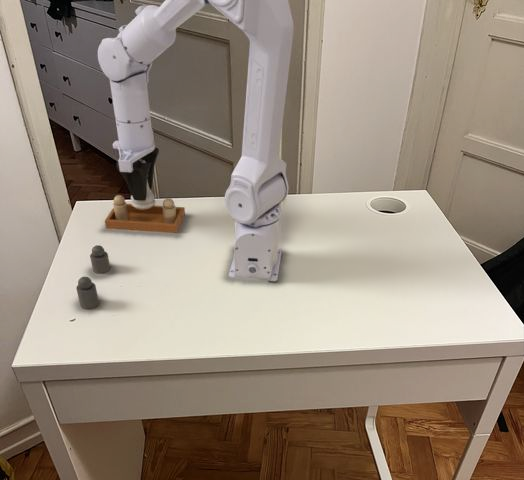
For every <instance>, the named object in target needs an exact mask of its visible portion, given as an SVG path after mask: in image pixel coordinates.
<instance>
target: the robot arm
mask: <svg viewBox="0 0 524 480" xmlns="http://www.w3.org/2000/svg"><path fill="white" fill-rule="evenodd" d="M207 5H211V6H212V7H213V8H214V9H216V10H217V11H218V12H219V13H220V14H222V15H223V16H224V17H225V18H226V19H228V21H230V22H231V23H233V24H234V25H235V26H236V27H237V28H239V29H240V30H241V31H242V32H243V33H244V35H245V36H246V38H248V40H249V50H248V51H249V52H248V65H247V76H246V78H247V79H246V91H245V105H244V106H245V107H244V116H243V117H244V119H243V133H242V144H241V145H242V146H241V157H240V159H239V160H238V162H237V164H236V166H235V167H234V168H233V171H232V173H231V175H230V184H229V186H228V188H227V189H226V190H225V193H224V205H225V209H226V210H227V212H228V214H229V215H230V216H231V218H232V220H233V222H234V246H233V253H234V255H233V258H232V262H231V266H230V269H229V272H228V277H229V278H237V279H252V280H264V281H268V282H277V281H278V278H279V272H280V266H281V260H282V252H283V251H282V250H281V249H280V248H279V241H280V240H279V239H280V238H279V237H280V215H281V213H280V211H281V209H282V207H281V206H282V203H283V202H284V201H285V200H286V198H287V197H288V195H289V191H290V188H289V186H290V185H289V182H288V181H289V180H288V178H287V163H286V162H285V161H284V160H283V159H282V158H280V157H279V155H280V148H281V147H280V146H281V138H282V131H283V124H284V123H283V122H284V114H285V107H286V106H285V105H286V97H287V88H288V83H289V82H288V81H289V72H290V64H291V56H292V47H293V41H294V32H295V31H294V29H295V28H294V19H293V16H292V11H291V10H292V9H291V7H290V2H289V0H164V1H163V2H162V3H161V4H160V6H158V5H155V4H149V5H146V4H145V5H140V6H138V7H137V8H136V9H135V12H134V13H135V14H136V16H135V17H133V19H132V20H131V21H130V22H129V23H128V24H124V25H121V26H120V27H119V28H118V32H119V33H118V34H117V36H115V37H107V38H103V39H102V40H101V42H100V44H99V46H98V48H97V62H98V64H99V66H100V69H101V71H102V72H103V74H104V75H105V77H107V78H108V79H109V85H110V92H111V100H112V104H113V111H114V112H113V113H114V118H115V119H114V120H115V123H116V125H115V126H116V131H117V139H118V140H114V142H113V143H112V148H113V149H114V150H118V154H119V158H118V160H117V161H116V163H115V165H116V169H117V171H118V172H119V173H120V175H121V176H122V177H123V179H124V181H125V183H126V184H127V187H128V189H129V191H130V194H131V195H132V196H133V199H134V200H141V201H145V200H146V196H147V180H148V185H149V188H150V190H151V191H152V188H153V184H154V182H153V181H154V172H155V166H156V161H157V158H158V156H159V153H160V149H159V148H158V147H156V144H155V137H154V129H152V127H153V126H152V117H151V111H150V110H151V109H150V101H149V100H150V99H149V91H148V90H149V89H148V84H149V82H150V77H149V74H150V70H151V68H152V66H153V62H154V60H155V59H157V58H158V57H159V56H160V55H161V54H163V53H164V52H166V50H167V49H168V48H170V47H171V46H173V44H174V43H175V41H176V38H177V28H179V27H180V26H181V25H182V24H184V23H185V22H186V21H188V19H190V18H191V17H193V16H194V15H195V14H196V13H198V12H199V11H201V10H202V9H203V8H204V7H206V6H207ZM139 159H141V160H142V162H143V160H144V161H145V162H146V163H141V161H139ZM147 176H148V177H147Z"/></svg>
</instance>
